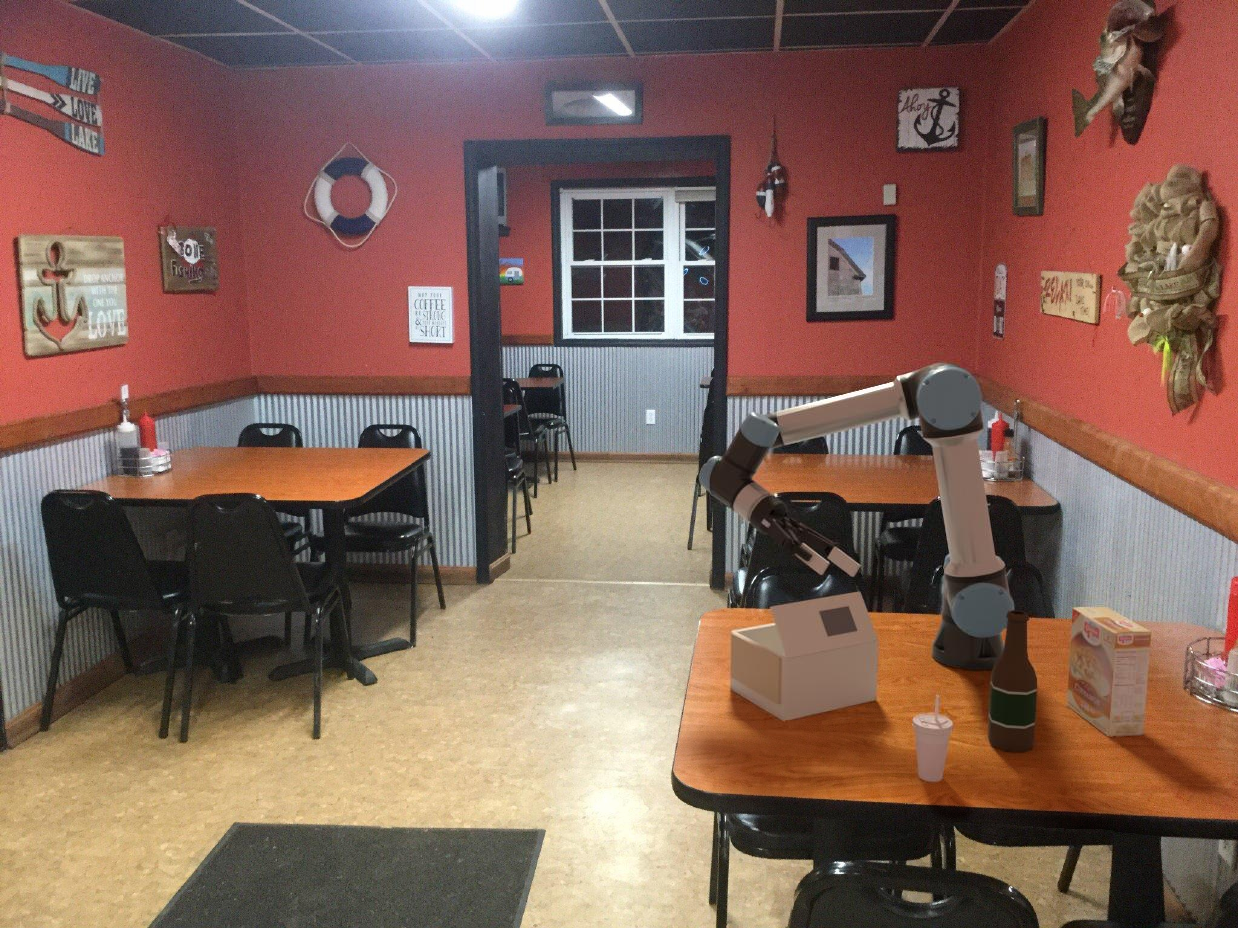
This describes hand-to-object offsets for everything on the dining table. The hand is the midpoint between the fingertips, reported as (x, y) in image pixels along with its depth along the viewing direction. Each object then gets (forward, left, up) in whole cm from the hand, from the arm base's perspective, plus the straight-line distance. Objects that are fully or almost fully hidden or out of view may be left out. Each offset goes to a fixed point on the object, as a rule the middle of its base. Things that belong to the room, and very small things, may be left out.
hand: (841, 570), depth 204 cm
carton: (+7, +1, -26) cm, 27 cm away
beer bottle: (-33, +3, -26) cm, 42 cm away
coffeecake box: (-45, -17, -26) cm, 55 cm away
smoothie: (-25, +23, -26) cm, 43 cm away
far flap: (+2, +4, -10) cm, 11 cm away
